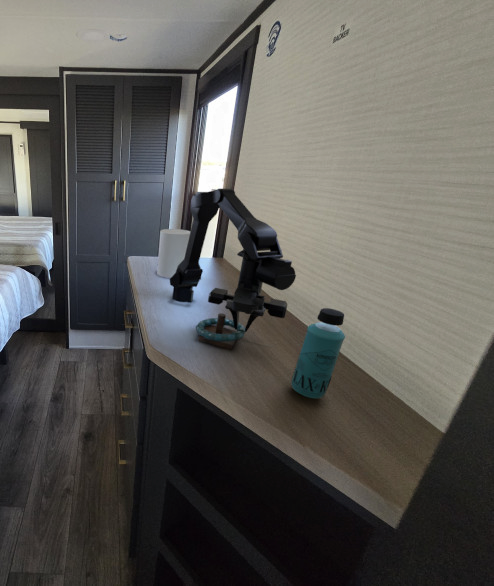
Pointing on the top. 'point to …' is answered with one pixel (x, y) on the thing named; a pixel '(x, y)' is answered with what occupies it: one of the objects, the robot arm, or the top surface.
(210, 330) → the peg stand
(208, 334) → the teal ring
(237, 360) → the top surface
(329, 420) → the top surface
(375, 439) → the top surface
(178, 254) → the canister
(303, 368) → the beverage bottle
